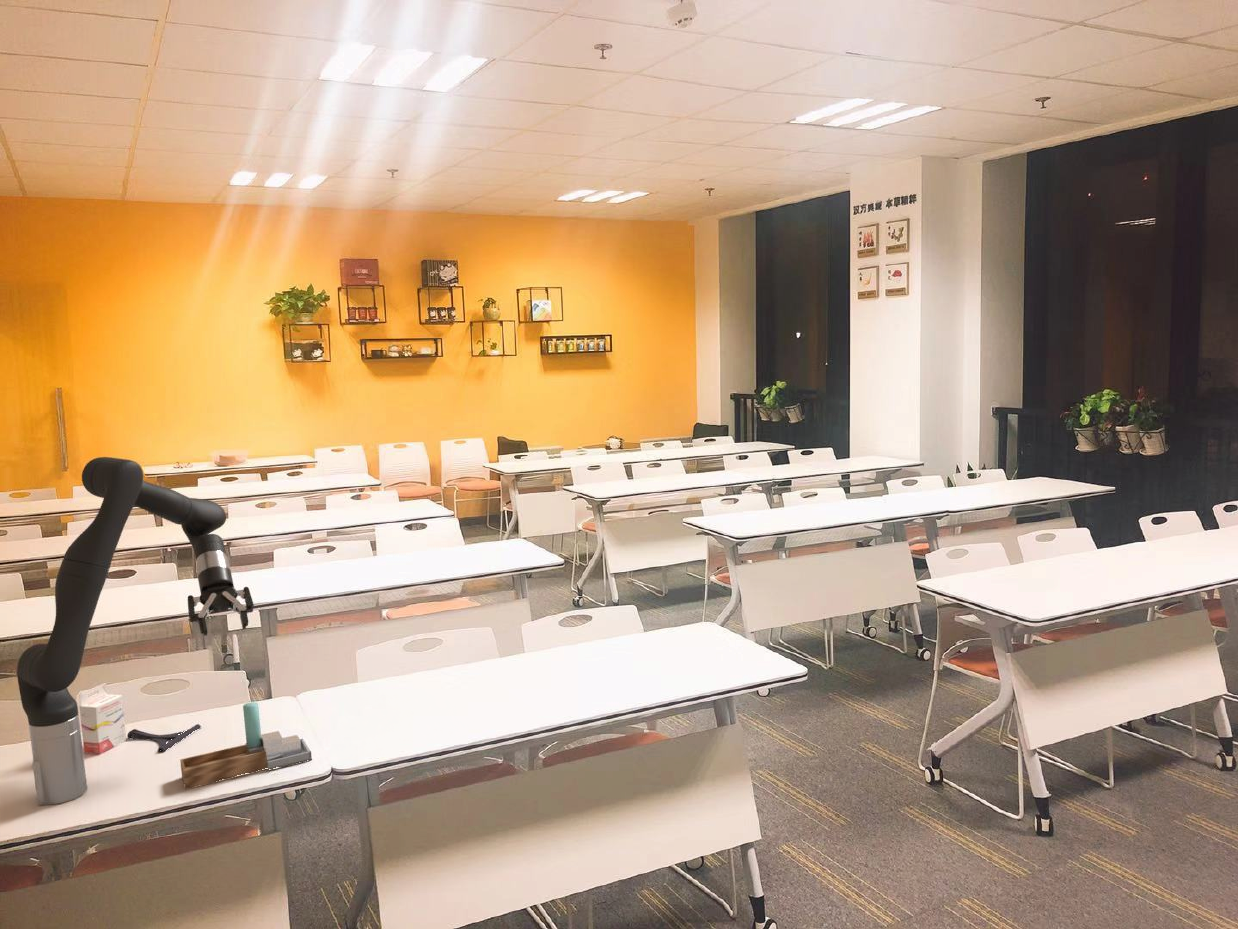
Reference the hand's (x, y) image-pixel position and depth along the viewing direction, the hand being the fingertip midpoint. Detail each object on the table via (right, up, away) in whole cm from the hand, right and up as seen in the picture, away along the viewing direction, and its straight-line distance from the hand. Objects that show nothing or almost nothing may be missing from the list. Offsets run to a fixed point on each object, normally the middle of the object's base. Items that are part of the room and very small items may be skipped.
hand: (225, 630), depth 224 cm
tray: (+16, -29, -4) cm, 33 cm away
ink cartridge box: (-32, -30, +7) cm, 44 cm away
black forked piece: (-21, -29, +11) cm, 38 cm away
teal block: (+10, -27, -8) cm, 30 cm away
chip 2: (+15, -26, -6) cm, 31 cm away
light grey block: (+13, -27, -7) cm, 31 cm away
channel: (+4, -30, -11) cm, 32 cm away
